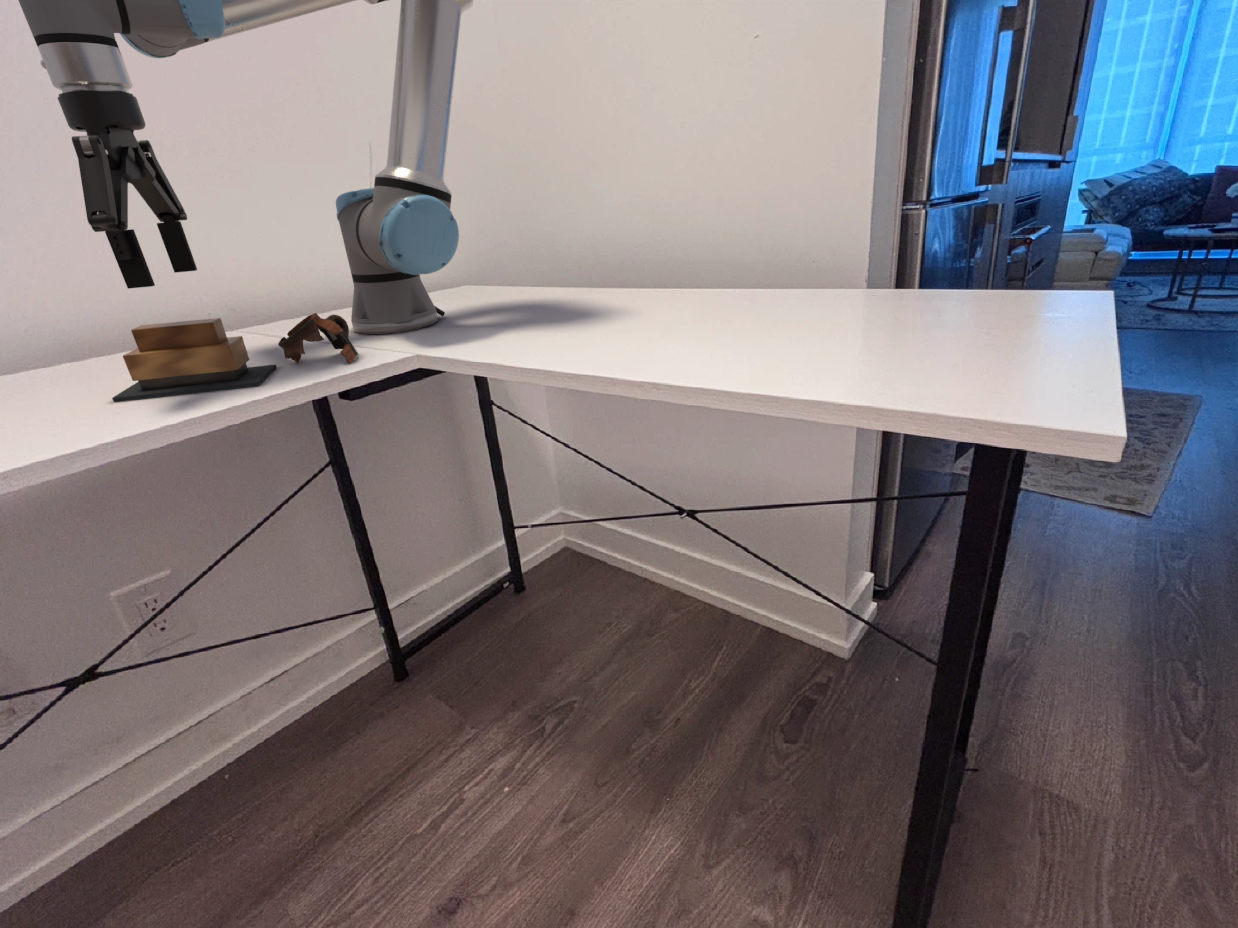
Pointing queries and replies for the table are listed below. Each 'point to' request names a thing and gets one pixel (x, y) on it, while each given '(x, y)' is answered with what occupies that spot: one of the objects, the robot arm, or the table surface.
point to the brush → (185, 354)
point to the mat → (200, 385)
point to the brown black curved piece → (318, 336)
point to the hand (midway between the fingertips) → (165, 278)
